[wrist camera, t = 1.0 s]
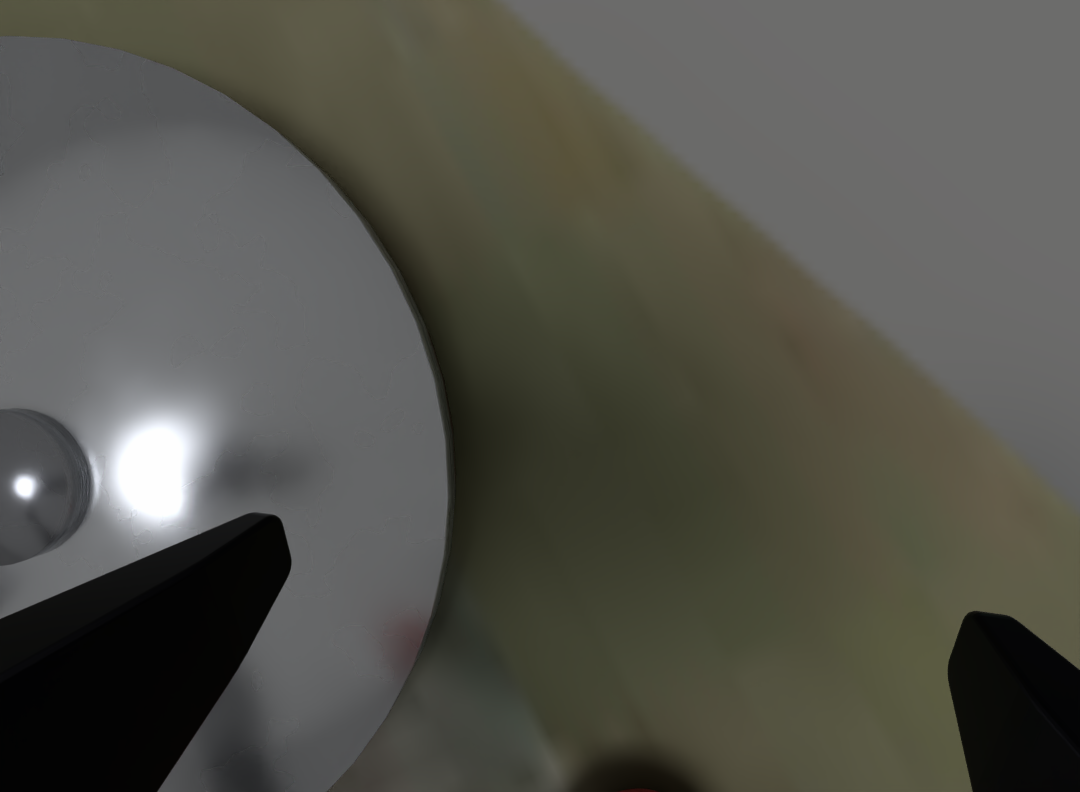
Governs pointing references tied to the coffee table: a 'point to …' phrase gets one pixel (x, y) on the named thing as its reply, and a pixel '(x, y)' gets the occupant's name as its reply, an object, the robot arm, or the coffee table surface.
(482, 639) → the coffee table surface
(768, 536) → the coffee table surface
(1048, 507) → the coffee table surface
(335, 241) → the handwheel
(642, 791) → the kendama
